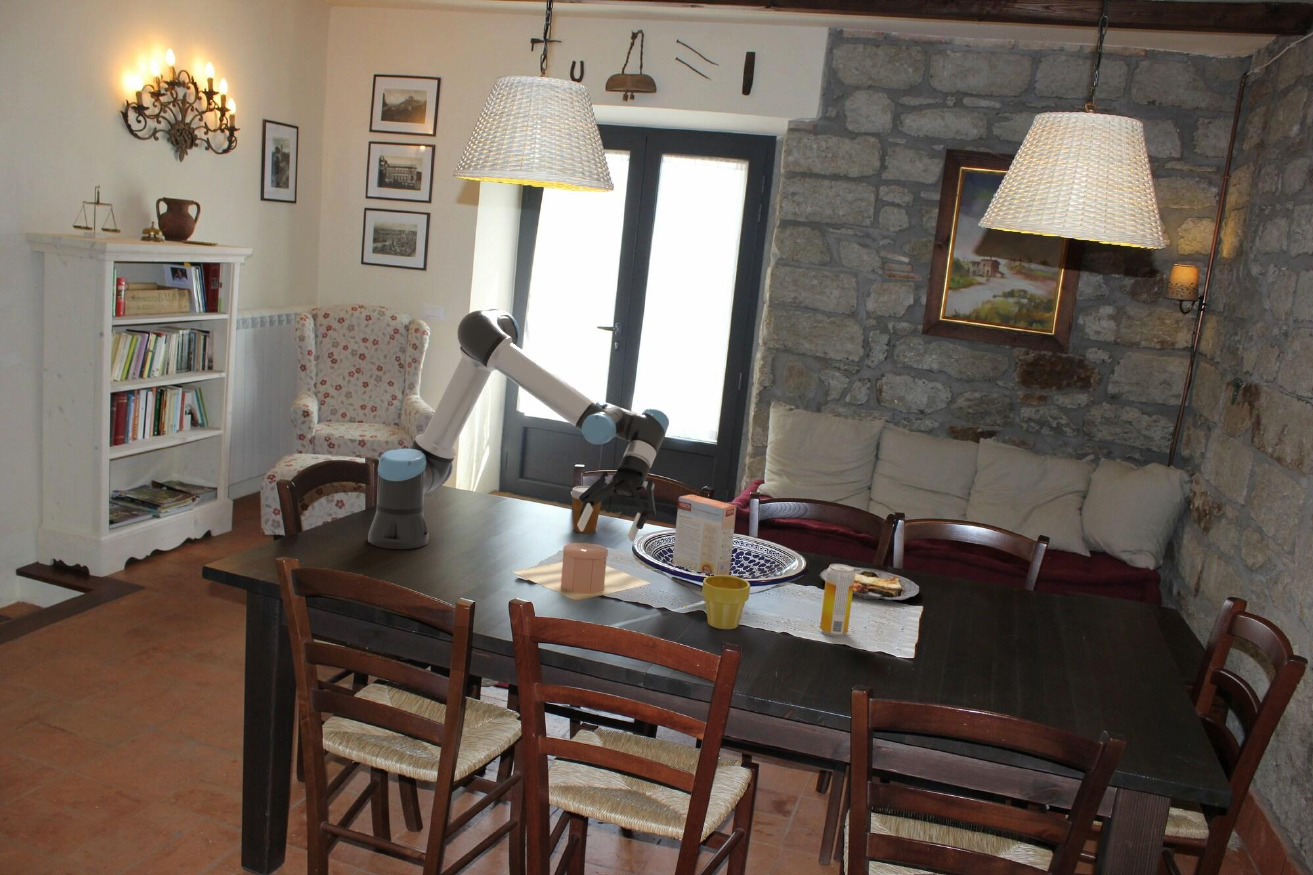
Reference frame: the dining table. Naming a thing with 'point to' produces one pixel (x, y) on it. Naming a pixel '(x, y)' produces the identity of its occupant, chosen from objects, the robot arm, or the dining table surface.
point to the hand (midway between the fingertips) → (604, 533)
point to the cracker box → (704, 535)
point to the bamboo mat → (552, 580)
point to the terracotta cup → (584, 568)
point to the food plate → (879, 584)
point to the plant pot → (725, 600)
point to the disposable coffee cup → (577, 508)
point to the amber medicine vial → (837, 600)
